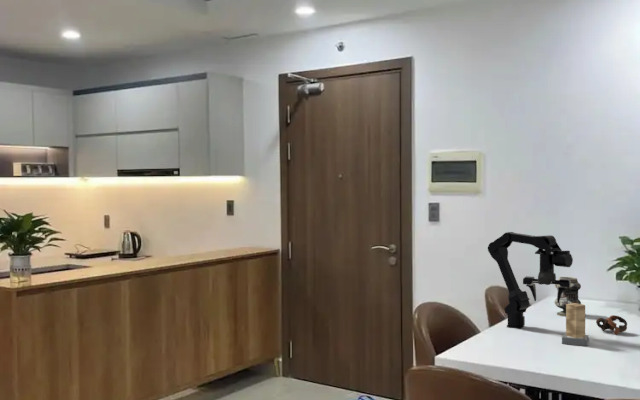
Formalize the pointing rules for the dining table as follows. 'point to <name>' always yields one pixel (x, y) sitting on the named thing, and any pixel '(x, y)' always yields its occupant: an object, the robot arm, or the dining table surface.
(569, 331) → the oak post
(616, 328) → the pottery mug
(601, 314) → the dining table surface
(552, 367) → the dining table surface
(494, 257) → the robot arm
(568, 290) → the apothecary jar
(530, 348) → the dining table surface
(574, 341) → the base tile
